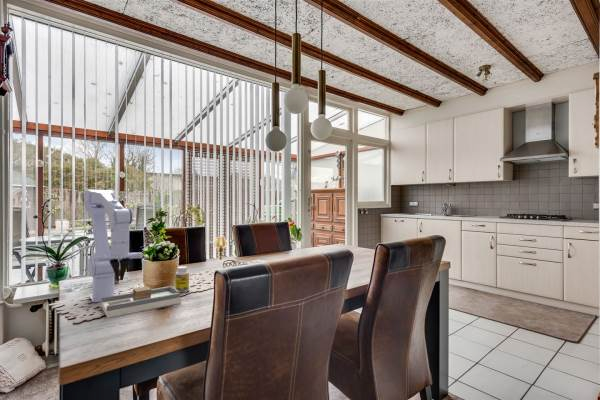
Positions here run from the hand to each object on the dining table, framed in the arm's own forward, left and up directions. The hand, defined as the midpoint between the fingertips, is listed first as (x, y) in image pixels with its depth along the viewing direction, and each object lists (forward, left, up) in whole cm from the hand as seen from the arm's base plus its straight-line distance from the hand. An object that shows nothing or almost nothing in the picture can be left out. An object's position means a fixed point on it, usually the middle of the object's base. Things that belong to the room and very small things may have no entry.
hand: (119, 280), depth 109 cm
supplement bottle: (-9, +26, -11) cm, 29 cm away
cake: (-42, +3, -11) cm, 43 cm away
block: (0, +8, -8) cm, 11 cm away
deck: (0, +8, -10) cm, 13 cm away
